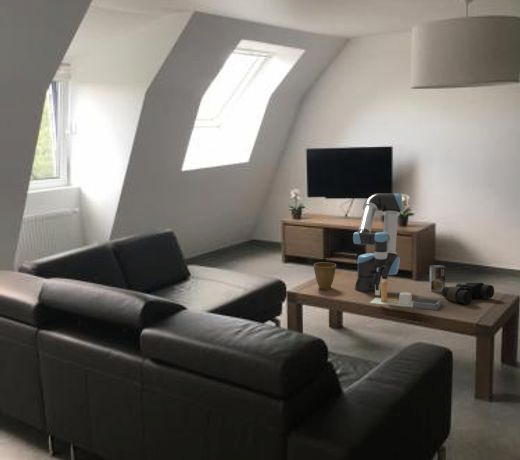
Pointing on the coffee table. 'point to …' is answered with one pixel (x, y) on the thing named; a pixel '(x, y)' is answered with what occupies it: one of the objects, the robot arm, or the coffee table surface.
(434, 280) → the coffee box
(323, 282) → the plant pot
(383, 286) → the pull block
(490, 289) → the binoculars
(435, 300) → the lane rack
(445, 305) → the coffee table surface
